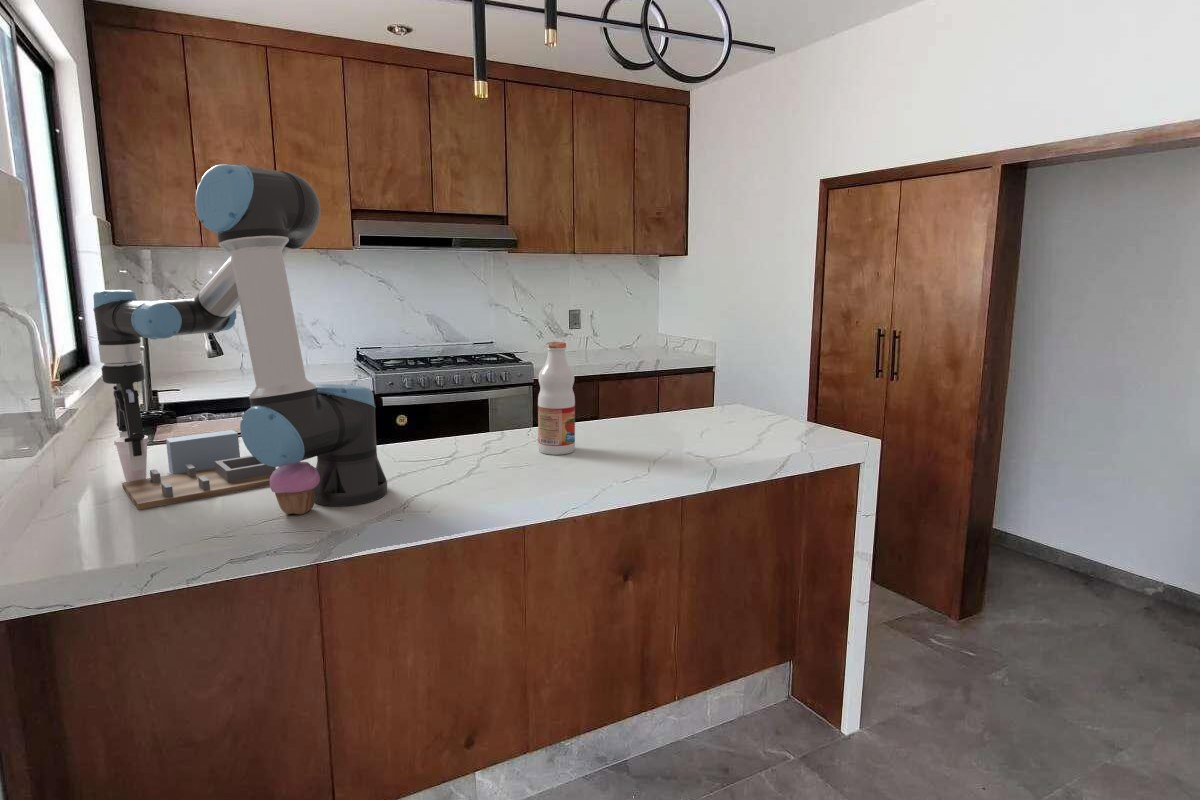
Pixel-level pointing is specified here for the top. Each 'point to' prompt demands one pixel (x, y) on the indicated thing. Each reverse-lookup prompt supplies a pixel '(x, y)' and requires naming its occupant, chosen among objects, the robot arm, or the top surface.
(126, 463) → the smoothie
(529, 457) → the top surface
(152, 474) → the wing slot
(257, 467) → the frame
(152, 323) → the robot arm
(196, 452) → the light blue rectangular block
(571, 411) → the fruit juice
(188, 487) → the jig board
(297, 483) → the cupcake
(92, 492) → the top surface
